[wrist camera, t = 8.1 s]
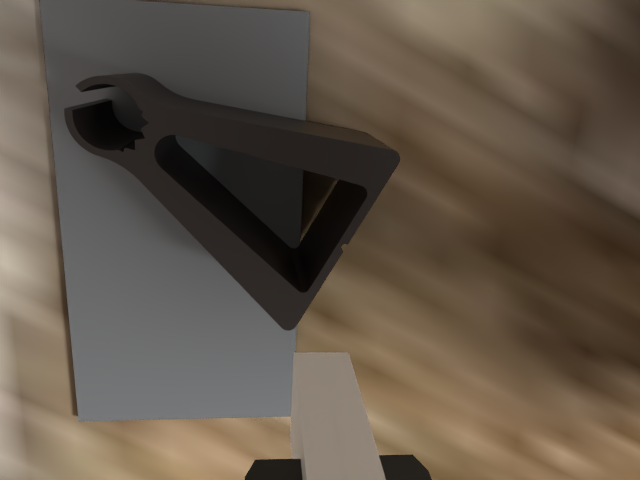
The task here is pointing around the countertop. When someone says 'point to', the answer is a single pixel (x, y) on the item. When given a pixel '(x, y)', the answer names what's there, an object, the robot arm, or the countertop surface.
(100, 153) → the phone stand
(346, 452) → the robot arm
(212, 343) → the mat
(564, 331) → the countertop surface
